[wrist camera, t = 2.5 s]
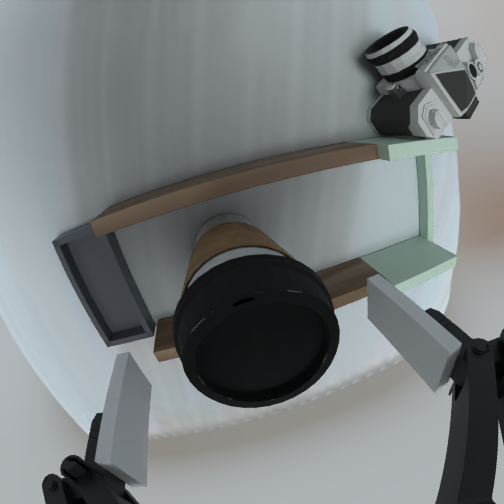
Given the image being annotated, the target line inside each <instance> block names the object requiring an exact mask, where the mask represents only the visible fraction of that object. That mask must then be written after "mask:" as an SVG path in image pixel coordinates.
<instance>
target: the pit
mask: <svg viewBox="0 0 504 504" xmlns="http://www.w3.org/2000/svg"><path fill="white" fill-rule="evenodd" d="M52 243H53V245H54V247H55V250H56V252H57V254H58V257H59V259H60V261H61V263H62V265H63V268H64V270H65V272H66V274H67V276H68V278H69V280H70V282H71V284H72V286H73V288H74V290H75V292H76V294H77V296H78V297H79V299H80V301H81V303H82V305H83V307H84V308H85V310H86V312H87V314H88V316H89V317H90V319H91V321H92V322H93V324H94V326H95V327H96V329H97V331H98V332H99V334H100V336H101V337H102V339H103V340H104V342H105V343H106V345H107V347H110V346H114V345H119V344H123V343H128V342H132V341H136V340H140V339H144V338H148V337H152V336H154V332H155V323H154V321H153V319H152V317H151V315H150V313H149V311H148V309H147V307H146V305H145V303H144V301H143V299H142V297H141V295H140V293H139V291H138V289H137V286H136V284H135V282H134V280H133V278H132V275H131V273H130V271H129V269H128V266H127V264H126V262H125V259H124V257H123V255H122V252H121V250H120V247H119V245H118V242H117V240H116V237H115V235H114V232H110V233H107V234H105V235H102V236H99V237H97V238H96V236H95V234H94V231H93V229H92V226H91V223H88V224H85V225H83V226H80V227H78V228H76V229H73V230H71V231H68V232H66V233H64V234H61V235H60V236H58V237H57V238H56V239H55V240H54V241H52Z"/></svg>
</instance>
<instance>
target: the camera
mask: <svg viewBox="0 0 504 504" xmlns="http://www.w3.org/2000/svg"><path fill="white" fill-rule="evenodd" d="M366 57H367V61H368V62H369V63H371V64H373V65H374V66H375V67H376V68H377V69H378V71H379V72H380V73H381V75H382V76H383V77H384V78H383V79H382V80H381V81H380V82H379V83H378V84H377V86H376V88H377V90H378V91H379V93H380V94H381V95H380V96H379V98H378V99H377V100H376V101H375V102H374V103H373V104H372V106H371V107H370V108H369V109H368V118H367V121H368V123H369V124H370V125H371V126H372V128H373V129H374V130H375V131H376V133H379V134H380V135H390V136H394V135H399V136H411V137H417V138H424V139H425V138H435V139H439V137H440V136H441V134H442V133H443V131H444V130H445V128H446V127H447V125H448V124H449V122H450V121H451V119H452V118H456V119H470V118H471V116H472V114H473V112H474V111H475V109H476V107H477V105H478V103H479V101H478V99H477V97H476V90H475V88H476V89H478V88H479V86H480V83H481V81H482V79H483V75H484V71H485V64H487V57H486V54H485V51H484V49H483V48H482V46H481V45H480V44H479V43H476V42H475V41H473V40H472V39H470V38H468V37H466V38H460V39H458V40H453V41H447V42H443V43H438V44H432V45H427V46H425V45H424V44H423V43H421V41H420V38H419V37H418V36H417V33H416V32H415V31H414V30H413V29H411V28H409V27H406V26H404V27H401V28H398V29H396V30H394V31H391V32H390V33H388V34H386V35H385V36H383V37H382V38H380V39H379V40H377V41H376V42H375V43H374V44H373V45H371V46H370V47H369V49H368V50H367V51H366ZM473 83H474V86H475V88H474V86H473Z"/></svg>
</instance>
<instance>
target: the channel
mask: <svg viewBox="0 0 504 504" xmlns="http://www.w3.org/2000/svg"><path fill="white" fill-rule="evenodd" d="M375 159H379V157H378V150H377V144H369V143H356V142H343V143H337V144H331V145H326V146H320V147H315V148H310V149H305V150H300V151H295V152H291V153H286V154H282V155H277V156H273V157H269V158H264V159H260V160H256V161H252V162H248V163H244V164H240V165H237V166H233V167H229V168H225V169H222V170H218V171H215V172H211V173H208V174H204V175H201V176H197V177H194V178H191V179H188V180H184V181H181V182H178V183H175V184H172V185H169V186H166V187H163V188H160V189H157V190H154V191H151V192H148V193H145V194H142V195H139V196H137V197H134V198H131V199H128V200H126V201H123V202H120V203H118V204H115V205H112V206H110V207H108V208H107V209H106V210H105V211H103V212H102V213H101V214H100V215H98V216H97V217H96V218H95V219H94V220H92V221H91V222H90V223H91V226H92V229H93V231H94V234H95V236H96V238H97V237H99V236H102V235H105V234H107V233H110V232H113V231H116V230H118V229H121V228H124V227H127V226H130V225H133V224H135V223H138V222H141V221H144V220H147V219H150V218H153V217H156V216H159V215H162V214H165V213H168V212H171V211H174V210H178V209H181V208H184V207H187V206H190V205H194V204H197V203H200V202H203V201H207V200H210V199H214V198H217V197H220V196H224V195H227V194H231V193H234V192H238V191H242V190H245V189H249V188H253V187H256V186H260V185H264V184H268V183H272V182H276V181H280V180H284V179H288V178H292V177H296V176H300V175H304V174H309V173H313V172H317V171H322V170H326V169H331V168H336V167H340V166H345V165H350V164H355V163H360V162H365V161H370V160H375ZM316 274H317V275H318V276H319V277H320V278H321V280H322V281H323V283H324V285H325V287H326V288H327V290H328V292H329V294H330V296H331V299H332V303H333V306H334V309H337V308H339V307H342V306H344V305H347V304H349V303H352V302H355V301H357V300H360V299H362V298H365V297H367V296H368V293H367V278H370V277H372V276H375V275H377V274H379V275H381V274H380V273H379V272H378V271H376V270H375V269H374V268H373V267H371V266H370V265H369V264H368V263H366V262H365V261H364V260H362V259H361V258H357V259H354V260H351V261H349V262H346V263H343V264H340V265H337V266H334V267H331V268H328V269H325V270H322V271H319V272H316ZM381 276H382V277H383V278H384V279H386V278H385V277H384V276H383V275H381ZM172 328H173V316H171V317H168V318H164V319H160V320H158V323H157V330H156V337H155V344H154V352H153V353H154V355H155V356H156V358H157V359H158V361H159V362H161V361H166V360H170V359H174V358H178V357H179V356H178V353H177V351H176V348H175V343H174V338H173V331H172Z"/></svg>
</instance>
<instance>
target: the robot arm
mask: <svg viewBox="0 0 504 504" xmlns="http://www.w3.org/2000/svg"><path fill="white" fill-rule="evenodd" d="M367 293H368V319H369V320H370V321H371V322H372V323H373V324H374V325H375V326H376V327H377V329H378V330H379V331H380V332H381V333H382V334H383V335H384V336H385V337H386V338H387V340H388V341H389V342H390V343H391V344H392V345H393V346H394V347H395V348H396V349H397V351H398V352H399V353H400V354H401V355H402V356H403V357H404V358H405V360H406V361H407V362H408V363H409V364H410V365H411V366H412V367H413V369H414V370H415V371H416V372H417V373H418V374H419V375H420V377H421V378H422V379H423V380H424V381H425V382H426V383H427V385H428V386H429V387H430V388H431V389H432V391H433V392H435V393H436V392H438V391H439V390H441V389H442V388H443V387H445V386H446V385H447V383H448V381H449V378H450V377H451V378H452V379H453V381H454V382H453V384H452V387H451V389H450V391H449V395H451V393H452V410H451V421H450V431H449V439H448V447H447V453H446V459H445V464H444V470H443V475H442V479H441V484H440V489H439V493H438V496H437V500H436V503H435V504H496V503H495V502H494V501H493V500H492V493H493V487H494V480H495V473H496V463H497V451H498V420H499V424H500V429H501V433H502V438H503V443H504V329H503V330H502V332H501V335H500V337H499V338H496V339H494V340H491V341H486V340H484V339H480V338H477V339H472V338H470V337H469V336H468V335H467V334H466V333H465V332H463V331H462V330H461V329H460V328H459V327H458V326H456V325H455V324H454V323H452V322H451V321H450V320H449V319H448V318H446V317H445V316H444V315H443V314H442V313H441V312H439V311H437V310H434V309H432V308H429V309H427V310H426V311H424V310H423V309H421V308H420V307H419V306H418V305H417V304H415V303H414V302H413V301H412V300H411V299H409V298H408V297H407V296H406V295H404V294H403V293H402V292H401V291H399V290H398V289H397V288H396V287H394V286H393V285H392V284H391V283H389V282H388V281H387V280H386V279H384V278H383V277H382V276H381V275H379V274H377V275H375V276H372V277H370V278H367ZM151 387H152V385H151V384H150V383H149V381H148V380H147V378H146V377H145V375H144V374H143V372H142V371H141V369H140V368H139V366H138V365H137V363H136V362H135V360H134V359H133V357H132V356H131V354H130V353H129V352H126V353H122V354H117V357H116V361H115V364H114V368H113V372H112V376H111V380H110V384H109V388H108V393H107V397H106V402H105V406H104V411H103V413H97V414H96V416H95V418H94V419H93V421H92V424H91V429H90V431H91V432H90V433H89V439H88V444H87V450H86V455H85V461H84V460H82V459H81V458H80V457H79V456H76V455H70V456H68V457H66V458H65V459H64V460H63V462H62V464H61V469H60V471H61V474H62V475H63V476H64V477H66V478H60V477H59V476H57V475H55V474H49V475H48V476H46V477H45V478H44V480H43V483H42V489H43V493H44V498H45V503H46V504H139V503H138V502H137V501H136V499H135V498H134V497H133V496H132V495H131V494H130V492H129V491H128V490H126V489H125V483H126V484H128V485H130V486H131V487H147V447H148V426H149V411H150V398H151Z"/></svg>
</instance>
